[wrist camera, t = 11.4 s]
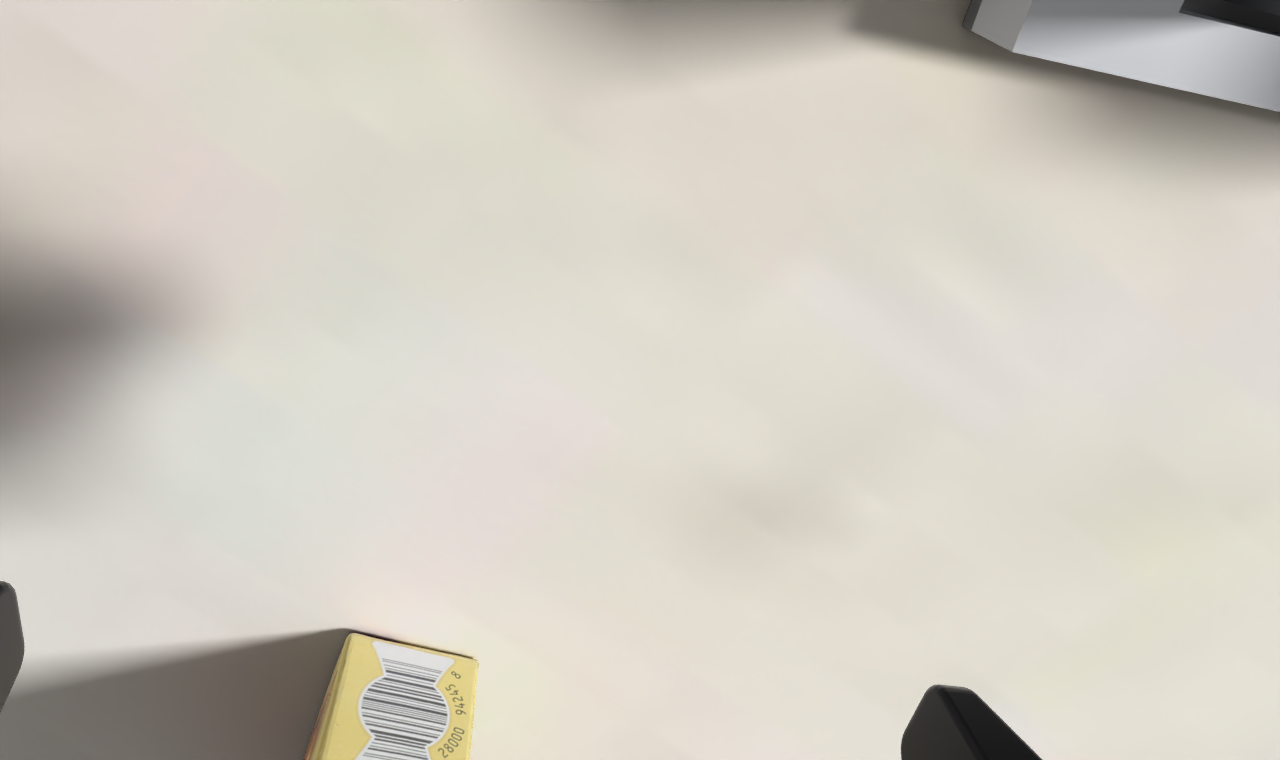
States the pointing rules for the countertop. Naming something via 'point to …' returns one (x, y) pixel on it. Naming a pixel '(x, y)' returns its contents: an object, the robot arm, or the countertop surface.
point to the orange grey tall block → (1260, 5)
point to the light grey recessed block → (1146, 41)
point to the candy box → (395, 704)
